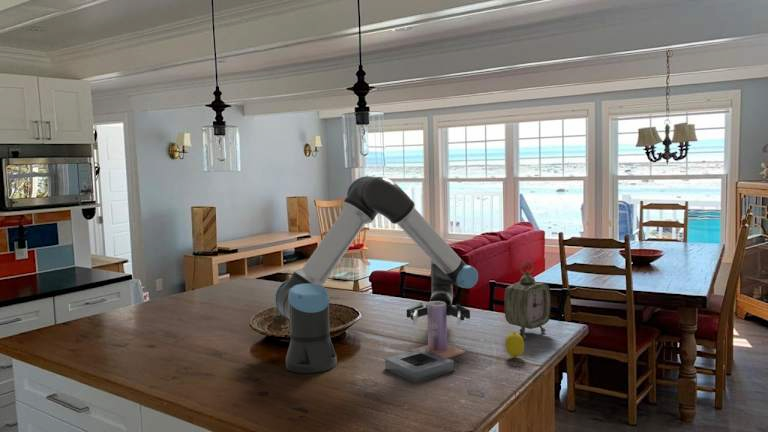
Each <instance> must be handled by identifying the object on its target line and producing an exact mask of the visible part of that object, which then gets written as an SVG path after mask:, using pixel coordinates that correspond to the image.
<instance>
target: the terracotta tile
mask: <svg viewBox="0 0 768 432" xmlns="http://www.w3.org/2000/svg"><path fill="white" fill-rule="evenodd" d="M422 348H423V349H425V350H428V351H430V350H429V349H428V344H427V345H423V346H419V347H415V348H412V349H410V352H411V351H415V350H418V349H422ZM430 352H431V351H430ZM433 353H434V352H433ZM465 353H466V351H465V350H464V349H460V348H457V347H456V346H452V345H450V344H447V350H446V351H445V352H442V353H436V354H438V355H441V356H443V357H446V358H449V359H451V358H452V357H456V356H459V355H463V354H465Z"/></svg>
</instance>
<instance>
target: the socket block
mask: <svg viewBox="0 0 768 432" xmlns="http://www.w3.org/2000/svg"><path fill="white" fill-rule="evenodd" d="M384 359H385V360H384V363H385V364H384V365H385V366H384V367H385V370H388V371H389V372H391V373H393V374H395V375H398V376H400V377H402V378H404V379H407V380H408V381H410V382H413V383H415V384H418V383H421V382H423V381H426V380H429V379H433V378H436V377H440V376H443V375H445V374H446V375H447V374H448V373H453V372H454V371H455V361H454V360H453V359H451V358H446V357H443V356H441V355H438V354H436V353H433V352H430V351H428V350H425V349H423V348H422V349H418V350H415V351H411V350H410V351H408V352H404V353H400V354H398V355H392V356H389V357H386V358H384ZM418 364H421V365H418ZM416 365H418V366H416Z"/></svg>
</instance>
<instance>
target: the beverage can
mask: <svg viewBox="0 0 768 432" xmlns="http://www.w3.org/2000/svg"><path fill="white" fill-rule="evenodd" d="M427 305H428V306H427V315H426V316H427V345H428V349H429V350H430V351H431V352H434V353H442V352H445V351H446V350H447V345H448V316H447V306H446V303H445V302H442V301H431V302H430V301H429V302H428V303H427Z"/></svg>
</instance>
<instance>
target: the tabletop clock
mask: <svg viewBox="0 0 768 432" xmlns="http://www.w3.org/2000/svg"><path fill="white" fill-rule="evenodd" d="M526 265H531V266H532V268H531V270H528V269H526V270H525V272H524V271H523V268H524V267H525V266H526ZM534 269H535V266H534V264H533V263H532V262H530V261H526V262H524V263H523V264H522V265H521V266H520V273H521V274H522V276H521V278H520V279H519V281H518V282H515V283H512V284H510V285H508V286H507V287H506V288H505V291H504V318H505V320H506V322H507V323H508V324H509V325H512V326H517V327H520V329H519V333H520V334H521V337H522V338H523V340H526V339H527V335H526V333H525V332H526V329H529V330H530V329H531V330H533V329H536V328H540V332H541V333H542V334H543V333H545V332H546V328H545V327H543V326H544V325H546V324H547V323H548V322H549V321H550V316H551V303H552V302H551V300H552V299H551V291H550V289H551V288H550V286H549V284H547V283H543V282H542V283H541V282H536V280H535V277H533V276H532V275H530V274H532V273H533V272H534Z"/></svg>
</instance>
